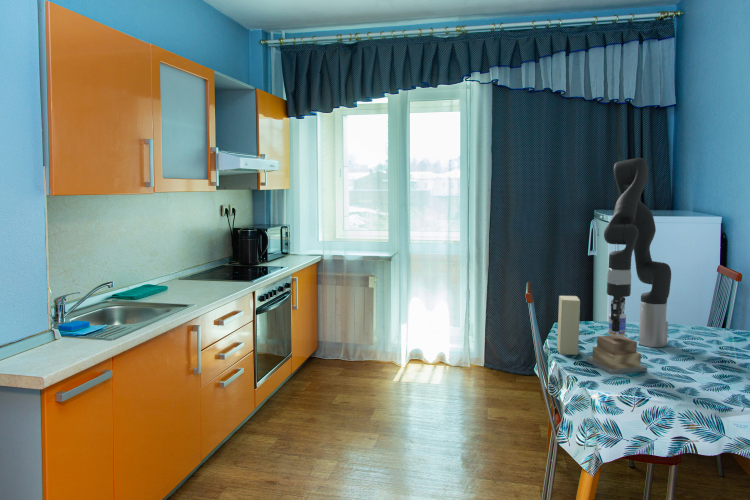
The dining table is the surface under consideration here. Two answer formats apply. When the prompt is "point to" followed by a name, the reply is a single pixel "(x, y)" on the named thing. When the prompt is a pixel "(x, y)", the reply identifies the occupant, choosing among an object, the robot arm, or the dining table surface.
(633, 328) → the dining table surface
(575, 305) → the tall beige block
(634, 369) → the base plate
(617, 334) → the pill bottle
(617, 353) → the brown block
